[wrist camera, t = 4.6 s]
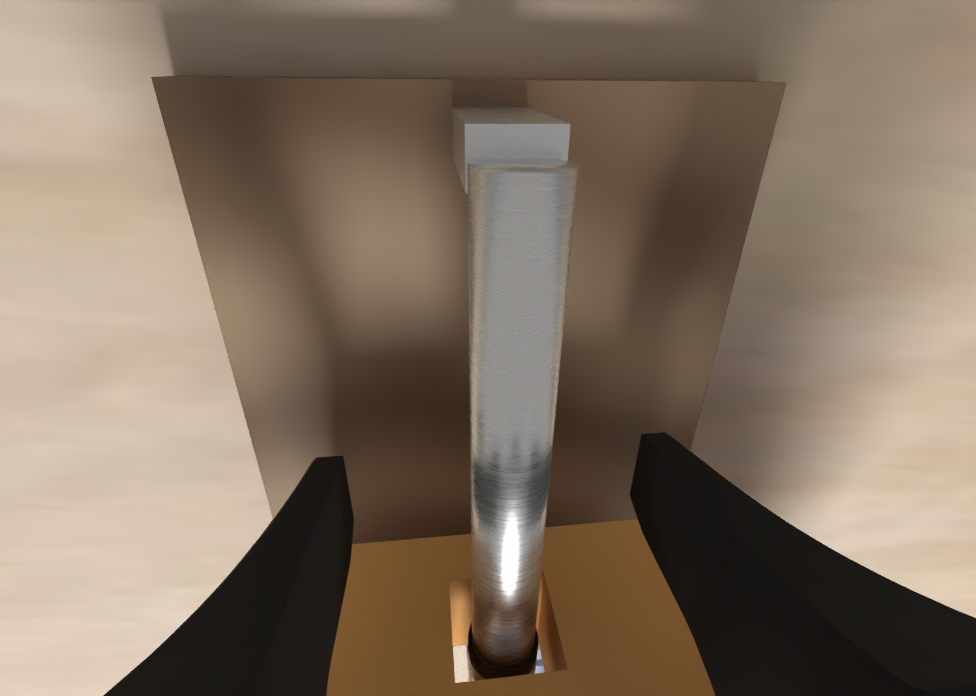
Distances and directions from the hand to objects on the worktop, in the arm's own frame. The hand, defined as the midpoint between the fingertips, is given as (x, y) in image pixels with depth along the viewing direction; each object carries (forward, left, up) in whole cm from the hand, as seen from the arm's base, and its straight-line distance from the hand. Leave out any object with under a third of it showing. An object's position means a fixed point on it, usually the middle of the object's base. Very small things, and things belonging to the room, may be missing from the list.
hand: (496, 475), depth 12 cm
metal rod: (-1, 0, -4) cm, 4 cm away
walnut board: (-1, 0, -4) cm, 4 cm away
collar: (-5, 0, -1) cm, 5 cm away
